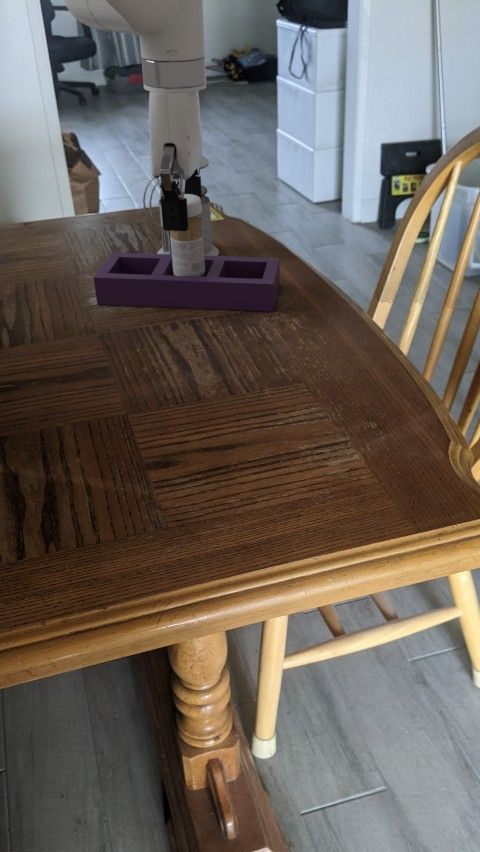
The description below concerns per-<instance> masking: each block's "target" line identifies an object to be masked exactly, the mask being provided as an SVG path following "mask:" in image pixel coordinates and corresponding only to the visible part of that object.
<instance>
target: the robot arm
mask: <svg viewBox="0 0 480 852" xmlns="http://www.w3.org/2000/svg"><path fill="white" fill-rule="evenodd" d="M63 2H64V4H65V6H66V8H67V10H68V11H69V13H70V14H71V15H72V16H73V17H74V18H75V19H76V20H77V21H78V22H80V23H81V24H83V25H85V26H87V27H89V28H92V29H95V30H99V31H104V32H105V31H107V32H112V33H120V34H126V35H132V36H137V37H139V47H140V57H141V59H140V60H141V70H142V83H143V89H144V90H145V91H147V92H149V95H148V133H149V135H148V136H149V156H150V157H149V158H150V159H149V160H150V174H151V176H152V178H153V177H154V178H155V179H156V180H157V179H158V178H160V179H161V182H159V184H160V186H159V189H160V190H161V192H160V191H159V194H160V199H161V209H162V222H163V229H164V230H165V231H166V232H167V231H187V230H188V211H187V198H184V194H192V195H196V196H198V197H200V199H201V205H202V191H201V186H202V177H201V176H200V175H201V169H200V166H199V164H200V162H201V157H202V156H203V155H202V154H203V144H202V143H203V140H202V139H203V138H202V121H201V107H200V94H199V92H200V91H203V90H205V89H206V88H207V72H206V69H207V68H206V51H205V50H206V48H205V47H206V46H205V25H204V24H205V23H204V22H205V21H204V3H203V2H204V1H203V0H63ZM175 172H178V173H175ZM155 179H154V180H155Z"/></svg>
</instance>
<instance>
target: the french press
mask: <svg viewBox="0 0 480 852" xmlns="http://www.w3.org/2000/svg"><path fill="white" fill-rule="evenodd" d="M209 163H210V161H209V159H208V158H207V157H205V156H203V155H202V157H201V162H200V164H199V166H200V170H203V169H205V168H206V167H208V166H209ZM174 173H179V172H174ZM159 178H160V177H159ZM159 178H158V179H156V180H157V181H156V183H154V185H153V187H152V189H151V192H150V196H149V202H148V204H149V213H150V216H151V218H152V220H151V218H150V216H149V214H148V212H147V206H146V196H147V195H146V194H147V191H148V188H149V186H150V184H152V182H153V181H154V180H155V178H154V177H153V176H152V178H151V179H150V180H149V181H148V183H147V184H146V186H145V189H144V192H143V197H142V203H143V211H144V214H145V216H146V218H147V220H148V222H150V223H151V224H152V225H154V226H157V227H158V228H160V229H161V236H162V237H161V239H162V240H161V241H162V247H161V248H159V250H158V251H157V253H156V254H172V251H171V240H170V236H171V234H170V231H166V230H164V229H163V222H162V209H161V198H160V199H159V200H158V206H159V216H160V217H159V219H160V224H159V223H158V222H157V221H156V219H155V217H154V213H153V210H152V200H153V195H154V191H155V190H156V187H158V186H159V187H160V183H161V178H160V179H159ZM201 191H202V212H201V225H202V235H203V246H204V256H220V251H219V249H218V247H216V246H215V245H214V244H213V235H212V234H213V233H212V232H213V231H212V220H211V216H212V214H211V200H210V198H209V196H207V193H208V188H207V187H206V186H205V185H201ZM160 192H161V189H160V190H159V193H160ZM165 231H166V233H165Z"/></svg>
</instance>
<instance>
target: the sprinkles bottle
mask: <svg viewBox="0 0 480 852" xmlns="http://www.w3.org/2000/svg"><path fill="white" fill-rule="evenodd" d="M184 198H187V211H188V230H187V231H170V234H171V236H170V240H171V251H172V263H173V273H174V276H195V277H205V275H204V273H205V263H204V246H203V235H202V225H201V212H202V205H201V199H200V197H198V196H196V195H192V194H184Z"/></svg>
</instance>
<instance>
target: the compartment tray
mask: <svg viewBox="0 0 480 852" xmlns="http://www.w3.org/2000/svg"><path fill="white" fill-rule="evenodd" d="M280 259H281V258H280V257H258V256H257V257H256V256H255V257H253V256H227V255H226V256H225V255H218V256H204V263H205V273H204V275H205V277H195V276H174V273H173V263H172V254H157V253H142V252H141V253H139V252H115V251H114V252H111V253H110V254H109V255H108V257H107V258H106V259H105V261H104V262H103V263H102V265H101V266H100V268H99V269H98V271H96V273H95V274H94V276H93V284H94V291H95V297H96V304H97V305H98V306H118V307H119V306H120V307H122V306H123V307H143V308H144V307H147V308H148V307H149V308H169V309H172V308H173V309H194V310H196V309H198V310H220V311H221V310H222V311H244V312H245V311H246V312H266V313H267V312H270V313H273V312H274V309H275V305H276V301H277V297H278V293H279V289H280V285H281V282H280V281H281V278H280V277H281V273H280V271H281V270H280V269H281V266H280V265H281V260H280Z"/></svg>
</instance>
